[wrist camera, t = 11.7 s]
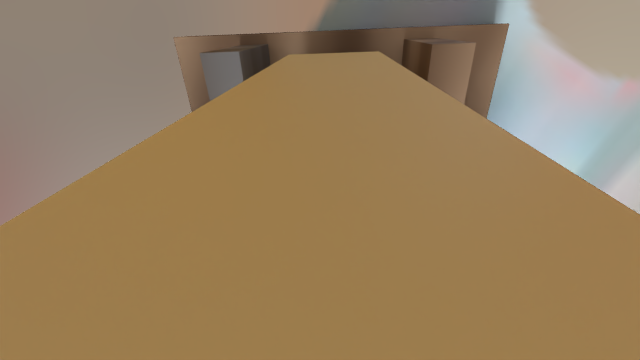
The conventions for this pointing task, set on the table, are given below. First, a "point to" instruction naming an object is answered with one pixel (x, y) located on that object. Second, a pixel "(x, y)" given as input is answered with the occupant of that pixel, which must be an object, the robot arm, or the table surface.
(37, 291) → the ochre book
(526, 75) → the table surface
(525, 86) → the table surface
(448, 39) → the shelf
